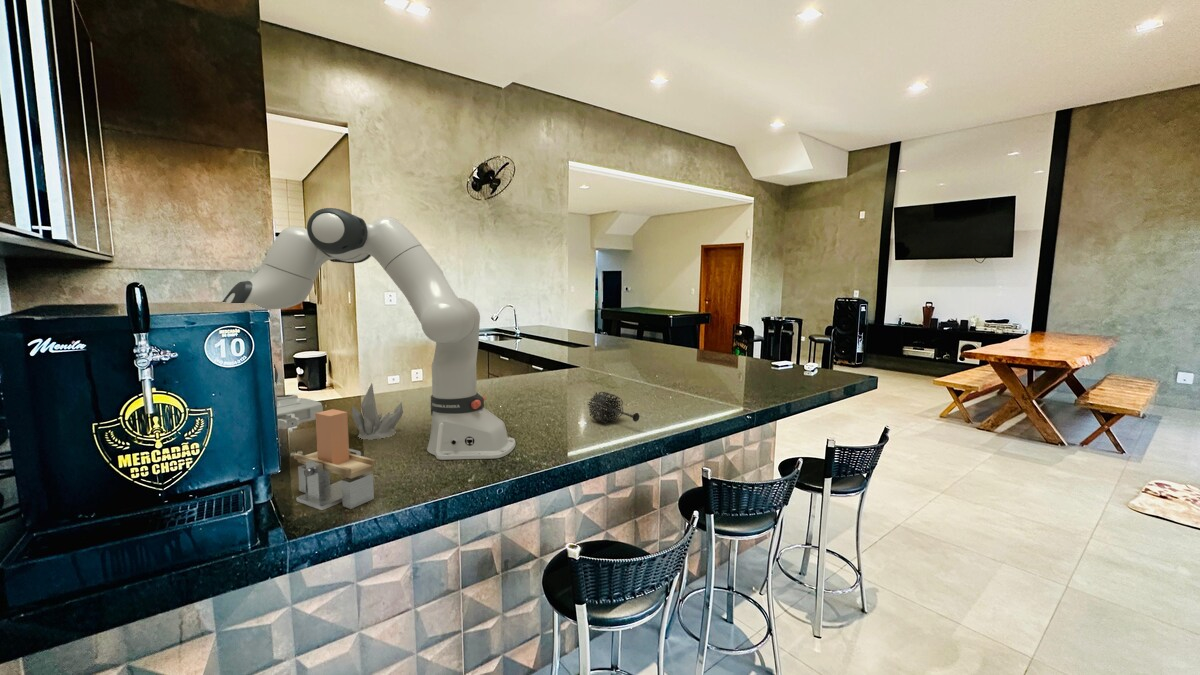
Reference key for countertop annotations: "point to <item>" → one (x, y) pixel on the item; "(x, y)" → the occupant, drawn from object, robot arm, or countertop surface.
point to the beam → (348, 469)
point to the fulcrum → (333, 487)
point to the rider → (332, 436)
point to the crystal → (374, 419)
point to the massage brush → (608, 408)
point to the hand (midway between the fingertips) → (292, 423)
